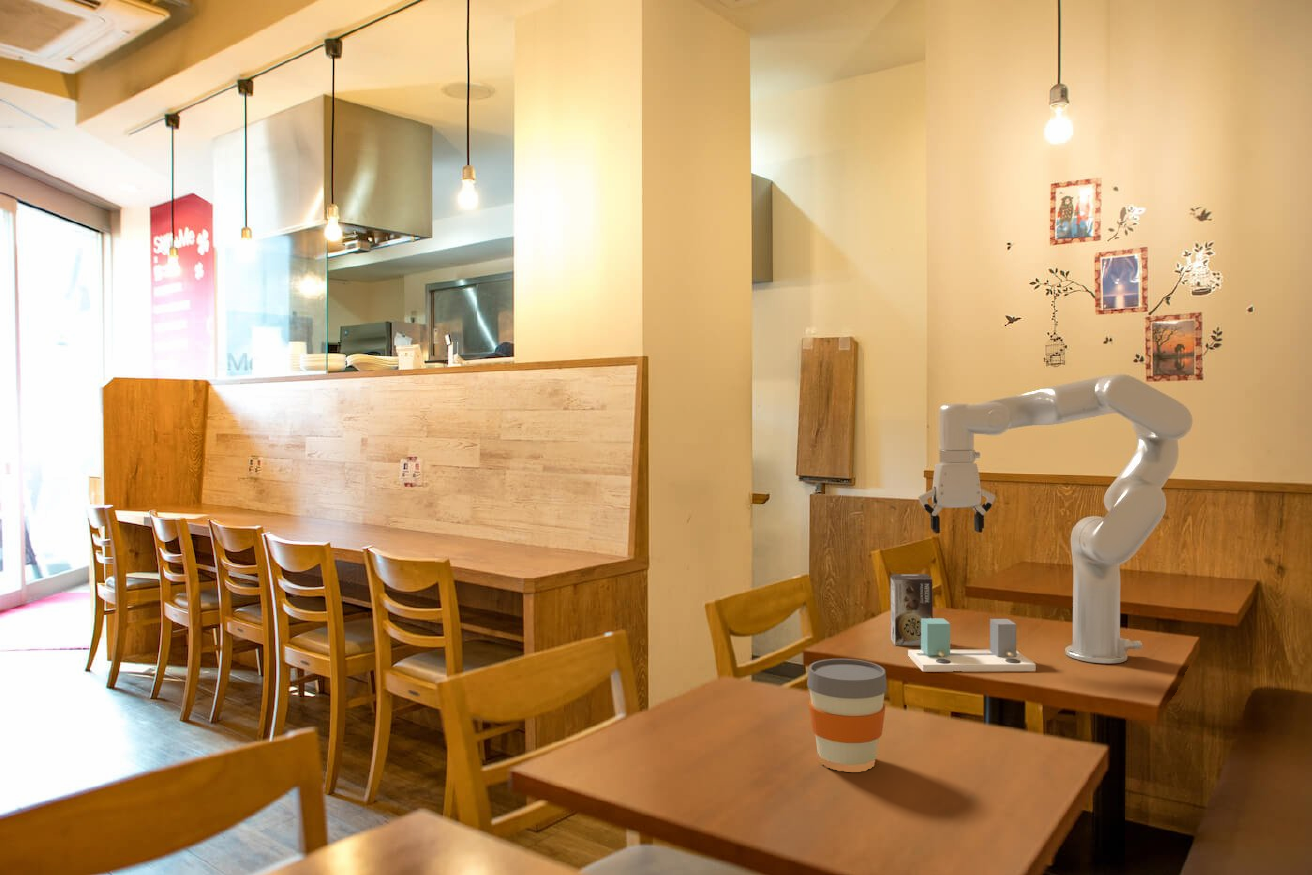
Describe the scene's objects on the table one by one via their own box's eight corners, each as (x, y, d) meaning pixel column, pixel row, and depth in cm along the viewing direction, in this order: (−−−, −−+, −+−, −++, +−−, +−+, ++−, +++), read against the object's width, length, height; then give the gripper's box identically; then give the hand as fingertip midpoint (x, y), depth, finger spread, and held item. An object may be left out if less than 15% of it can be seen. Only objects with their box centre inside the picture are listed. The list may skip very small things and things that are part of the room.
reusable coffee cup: (792, 753, 149) (792, 662, 148) (858, 742, 153) (858, 654, 153) (833, 782, 137) (833, 684, 136) (903, 770, 141) (903, 675, 141)
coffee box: (928, 639, 220) (928, 573, 220) (933, 646, 214) (933, 578, 213) (890, 638, 221) (890, 573, 221) (894, 645, 215) (894, 578, 214)
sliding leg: (943, 649, 204) (943, 618, 204) (954, 658, 196) (954, 626, 196) (921, 649, 204) (921, 618, 204) (930, 658, 196) (931, 626, 196)
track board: (1014, 655, 205) (1014, 617, 205) (1035, 671, 193) (1035, 630, 193) (908, 656, 206) (908, 617, 205) (922, 671, 194) (923, 630, 193)
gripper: (988, 456, 210) (989, 529, 211) (914, 457, 211) (914, 530, 211) (1000, 457, 203) (1001, 533, 204) (923, 459, 203) (924, 535, 204)
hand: (957, 532), depth 207 cm, fingers open, 9 cm apart
